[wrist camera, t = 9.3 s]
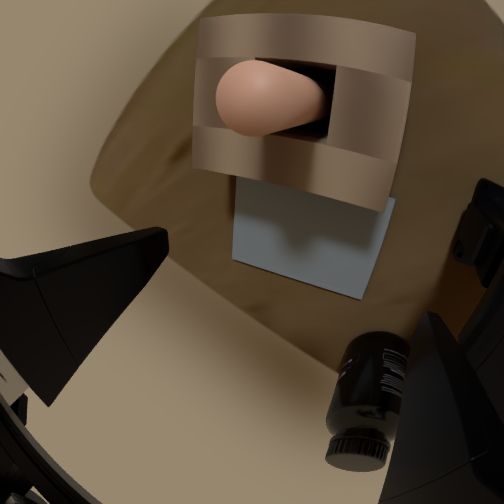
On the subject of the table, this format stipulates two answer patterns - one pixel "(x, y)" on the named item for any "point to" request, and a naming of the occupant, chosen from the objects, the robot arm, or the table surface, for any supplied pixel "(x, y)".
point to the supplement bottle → (367, 402)
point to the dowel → (269, 99)
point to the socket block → (342, 113)
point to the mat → (307, 235)
